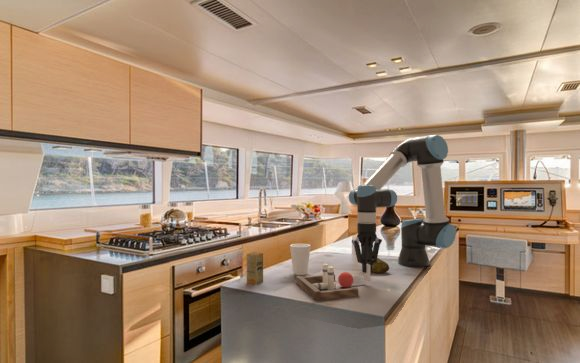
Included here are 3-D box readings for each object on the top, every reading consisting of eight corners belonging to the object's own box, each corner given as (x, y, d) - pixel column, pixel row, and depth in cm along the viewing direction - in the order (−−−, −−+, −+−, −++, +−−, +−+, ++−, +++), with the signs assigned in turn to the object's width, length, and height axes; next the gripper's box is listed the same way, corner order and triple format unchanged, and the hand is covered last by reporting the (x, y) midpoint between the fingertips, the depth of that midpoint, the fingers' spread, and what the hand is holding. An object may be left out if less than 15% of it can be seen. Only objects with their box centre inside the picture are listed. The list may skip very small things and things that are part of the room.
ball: (332, 279, 137) (342, 288, 138) (339, 283, 131) (350, 292, 133) (341, 267, 138) (351, 276, 140) (348, 271, 132) (358, 280, 134)
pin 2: (332, 289, 133) (332, 266, 133) (335, 291, 130) (335, 267, 130) (326, 290, 132) (326, 266, 132) (329, 291, 129) (329, 268, 130)
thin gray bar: (364, 284, 139) (364, 284, 139) (365, 285, 138) (365, 284, 138) (346, 286, 136) (346, 286, 136) (347, 287, 135) (347, 286, 135)
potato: (381, 275, 152) (381, 258, 152) (357, 270, 162) (357, 254, 162) (391, 272, 158) (391, 255, 158) (367, 267, 167) (367, 251, 167)
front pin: (333, 281, 136) (312, 282, 133) (335, 282, 133) (314, 284, 131) (333, 287, 135) (312, 289, 133) (336, 288, 133) (314, 290, 131)
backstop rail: (333, 279, 146) (333, 272, 146) (358, 295, 125) (358, 287, 125) (296, 283, 141) (296, 276, 141) (315, 300, 120) (315, 291, 120)
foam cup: (313, 272, 160) (313, 244, 160) (306, 276, 151) (305, 247, 151) (295, 269, 164) (295, 243, 164) (286, 274, 155) (286, 246, 155)
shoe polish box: (263, 281, 144) (263, 253, 144) (256, 284, 140) (256, 255, 140) (253, 280, 146) (253, 252, 147) (246, 282, 142) (246, 254, 142)
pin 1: (327, 285, 137) (327, 263, 138) (329, 287, 135) (329, 264, 135) (321, 286, 137) (321, 264, 137) (324, 288, 134) (323, 265, 134)
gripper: (375, 221, 144) (376, 276, 144) (348, 222, 141) (348, 279, 140) (385, 222, 137) (386, 281, 137) (356, 224, 133) (357, 284, 133)
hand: (367, 280), depth 139 cm, fingers closed
